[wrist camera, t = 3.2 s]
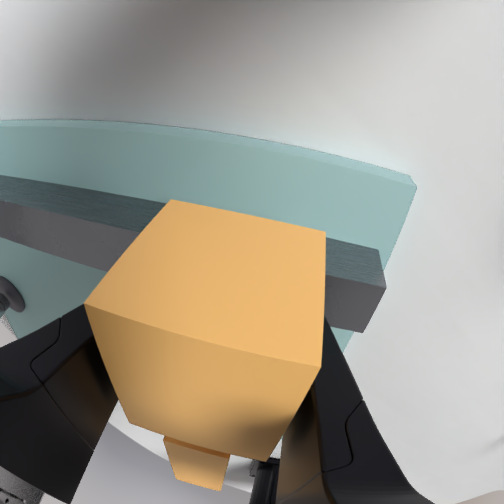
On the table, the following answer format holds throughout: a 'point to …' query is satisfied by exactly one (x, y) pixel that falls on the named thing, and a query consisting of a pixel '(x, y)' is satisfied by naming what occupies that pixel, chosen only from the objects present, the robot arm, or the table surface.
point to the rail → (134, 222)
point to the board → (186, 194)
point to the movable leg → (213, 332)
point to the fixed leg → (3, 304)
